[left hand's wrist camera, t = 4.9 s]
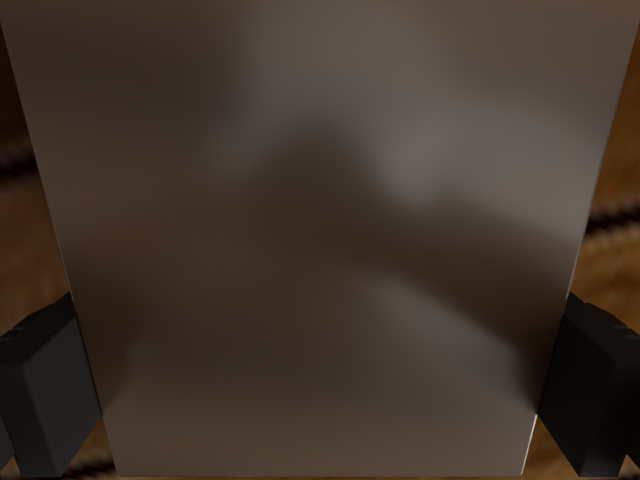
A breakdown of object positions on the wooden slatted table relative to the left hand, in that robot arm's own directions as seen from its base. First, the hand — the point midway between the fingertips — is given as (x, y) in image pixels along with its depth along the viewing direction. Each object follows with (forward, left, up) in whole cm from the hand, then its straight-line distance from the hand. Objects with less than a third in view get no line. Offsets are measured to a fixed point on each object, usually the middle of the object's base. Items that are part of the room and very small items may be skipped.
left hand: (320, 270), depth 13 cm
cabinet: (+2, +5, -4) cm, 7 cm away
